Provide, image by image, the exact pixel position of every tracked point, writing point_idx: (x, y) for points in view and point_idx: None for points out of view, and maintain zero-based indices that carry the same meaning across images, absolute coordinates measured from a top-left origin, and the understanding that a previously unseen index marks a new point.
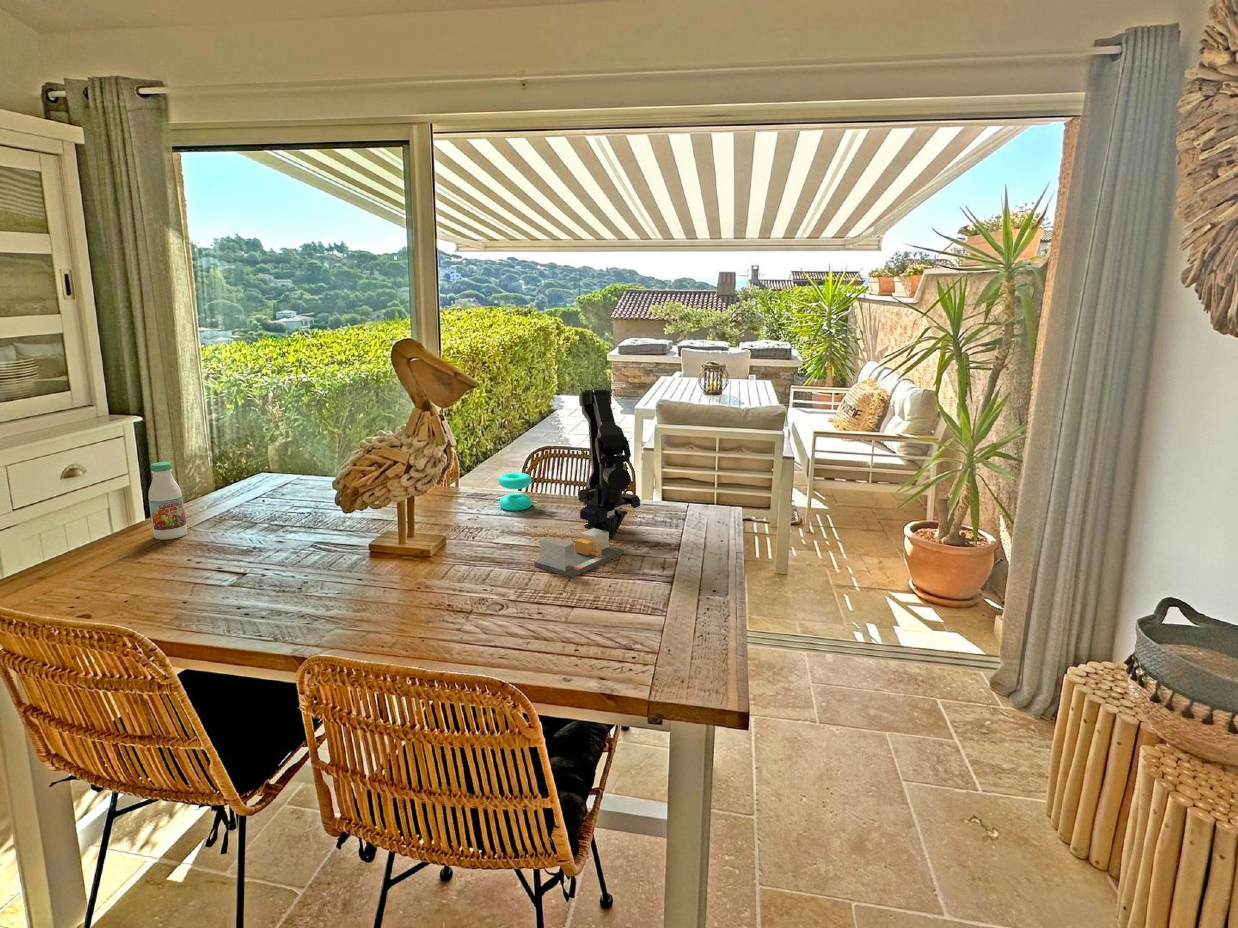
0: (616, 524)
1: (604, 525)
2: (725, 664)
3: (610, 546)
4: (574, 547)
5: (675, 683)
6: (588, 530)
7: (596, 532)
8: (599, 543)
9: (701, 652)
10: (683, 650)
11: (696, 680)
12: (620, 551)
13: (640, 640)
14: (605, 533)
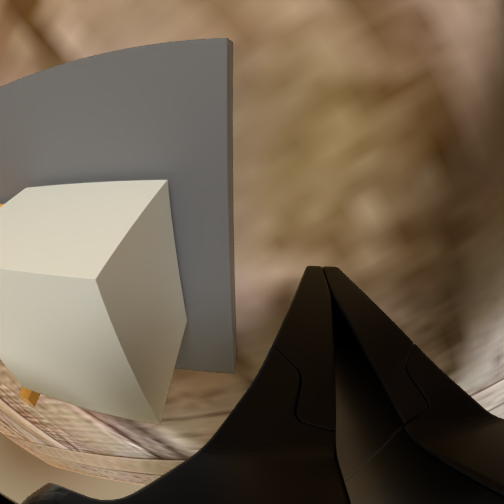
0: (337, 445)
1: (260, 378)
2: (74, 470)
3: (219, 310)
4: (16, 124)
5: (25, 446)
6: (6, 276)
7: (55, 363)
8: (24, 399)
9: (66, 462)
10: (52, 454)
11: (41, 455)
12: (206, 367)
13: (20, 431)
14: (114, 414)
